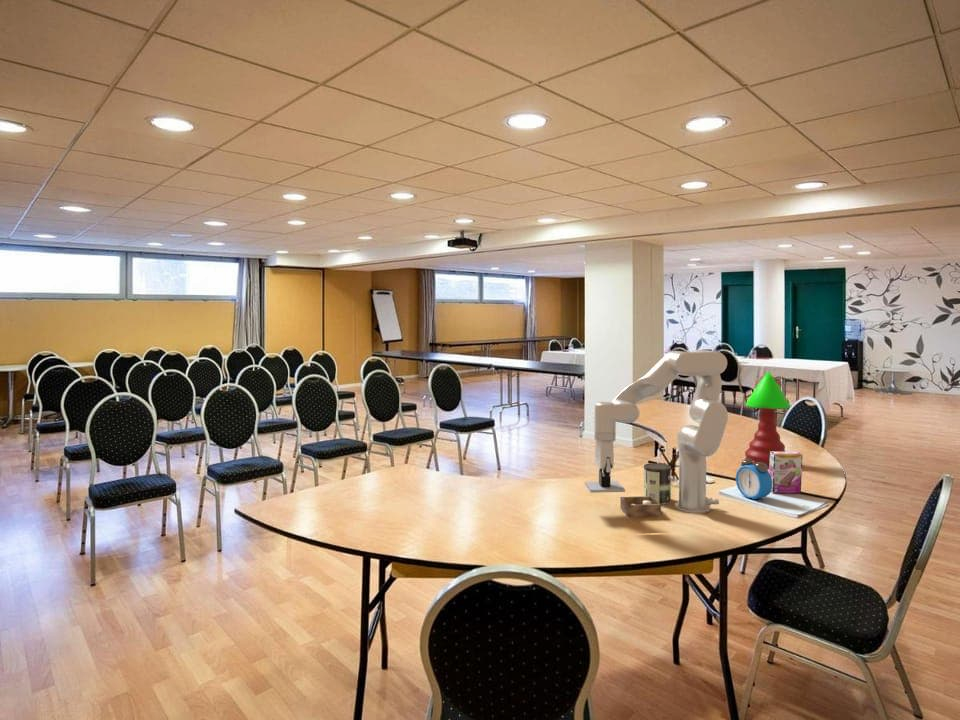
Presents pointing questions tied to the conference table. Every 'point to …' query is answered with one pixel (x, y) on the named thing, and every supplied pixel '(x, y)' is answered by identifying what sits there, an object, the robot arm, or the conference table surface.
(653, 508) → the box
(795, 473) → the candy bar box
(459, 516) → the conference table surface
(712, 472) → the conference table surface
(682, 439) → the robot arm
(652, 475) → the coffee can
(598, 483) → the lid
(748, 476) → the alarm clock
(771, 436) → the table lamp
